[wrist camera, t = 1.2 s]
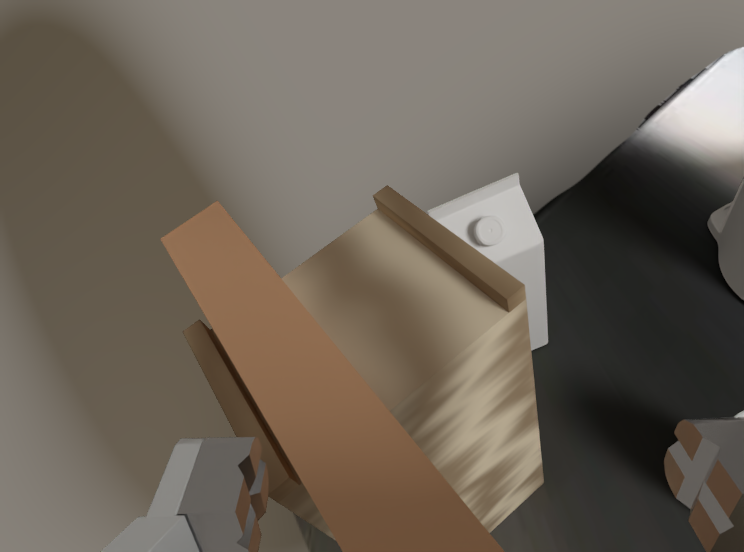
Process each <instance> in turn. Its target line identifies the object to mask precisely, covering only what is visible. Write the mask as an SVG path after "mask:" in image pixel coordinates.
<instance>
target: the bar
mask: <svg viewBox="0 0 744 552" xmlns="http://www.w3.org/2000/svg"><path fill="white" fill-rule="evenodd" d="M161 241H162V243H163V244H164V246H165V247H166V249H167V251H168V253H169V255H170V256H171V258H172V260H173V261H174V263H175V265H176V267H177V268H178V270H179V272H180V273H181V275H182V277H183V279H184V280H185V282H186V284H187V285H188V287H189V289H190V291H191V292H192V294H193V296H194V297H195V299H196V301H197V302H198V304H199V306H200V308H201V309H202V311H203V313H204V315H205V316H206V318H207V319H208V321H209V323H210V325H211V326H212V328H213V330H214V332H215V333H216V335H217V337H218V339H219V340H220V342H221V344H222V345H223V347H224V349H225V351H226V352H227V354H228V356H229V357H230V359H231V361H232V363H233V364H234V366H235V368H236V369H237V371H238V373H239V375H240V376H241V378H242V380H243V381H244V383H245V385H246V387H247V388H248V390H249V392H250V393H251V395H252V397H253V399H254V400H255V402H256V404H257V405H258V407H259V409H260V411H261V412H262V414H263V416H264V417H265V419H266V421H267V423H268V424H269V426H270V428H271V429H272V431H273V433H274V435H275V436H276V438H277V440H278V441H279V443H280V445H281V447H282V448H283V450H284V452H285V453H286V455H287V457H288V459H289V460H290V462H291V464H292V465H293V467H294V469H295V471H296V472H297V474H298V476H299V477H300V479H301V481H302V483H303V484H304V486H305V488H306V489H307V491H308V493H309V495H310V496H311V498H312V500H313V501H314V503H315V505H316V507H317V508H318V510H319V512H320V513H321V515H322V517H323V519H324V520H325V522H326V524H327V525H328V527H329V529H330V531H331V532H332V534H333V536H334V537H335V539H336V541H337V543H338V544H339V546H340V548H341V549H342V551H343V552H504V551H503V549H502V548H501V547H500V546H499V544H498V543H497V542H496V541H495V540H494V538H493V537H492V536H491V535H490V533H489V532H488V531H487V530H486V528H485V527H484V526H483V525H482V524H481V522H480V521H479V520H478V519H477V517H476V516H475V515H474V514H473V513H472V511H471V510H470V509H469V508H468V506H467V505H466V504H465V503H464V502H463V500H462V499H461V498H460V497H459V495H458V494H457V493H456V492H455V491H454V489H453V488H452V487H451V486H450V484H449V483H448V482H447V481H446V480H445V478H444V477H443V476H442V475H441V473H440V472H439V471H438V470H437V469H436V467H435V466H434V465H433V464H432V462H431V461H430V460H429V459H428V458H427V456H426V455H425V454H424V453H423V451H422V450H421V449H420V448H419V447H418V445H417V444H416V443H415V442H414V440H413V439H412V438H411V437H410V436H409V434H408V433H407V432H406V431H405V429H404V428H403V427H402V426H401V425H400V423H399V422H398V421H397V420H396V418H395V417H394V416H393V415H392V413H391V412H390V411H389V410H388V409H387V407H386V406H385V405H384V404H383V402H382V401H381V400H380V399H379V398H378V396H377V395H376V394H375V393H374V391H373V390H372V389H371V388H370V387H369V385H368V384H367V383H366V382H365V380H364V379H363V378H362V377H361V376H360V374H359V373H358V372H357V371H356V369H355V368H354V367H353V366H352V365H351V363H350V362H349V361H348V360H347V358H346V357H345V356H344V355H343V354H342V352H341V351H340V350H339V349H338V347H337V346H336V345H335V344H334V343H333V341H332V340H331V339H330V338H329V336H328V335H327V334H326V333H325V332H324V330H323V329H322V328H321V327H320V325H319V324H318V323H317V322H316V321H315V319H314V318H313V317H312V316H311V314H310V313H309V312H308V311H307V310H306V308H305V307H304V306H303V305H302V303H301V302H300V301H299V300H298V298H297V297H296V296H295V295H294V294H293V292H292V291H291V290H290V289H289V287H288V286H287V285H286V284H285V283H284V281H283V280H282V279H281V278H280V276H279V275H278V274H277V273H276V272H275V270H274V269H273V268H272V267H271V265H270V264H269V263H268V262H267V261H266V259H265V258H264V257H263V256H262V255H261V253H260V252H259V251H258V250H257V248H256V247H255V246H254V245H253V243H252V242H251V241H250V240H249V239H248V237H247V236H246V235H245V234H244V232H243V231H242V230H241V229H240V228H239V226H238V225H237V224H236V223H235V221H234V220H233V219H232V218H231V217H230V215H229V214H228V213H227V212H226V210H225V209H224V208H223V207H222V206H221V204H220V203H219V202H218V201H216V202H215V203H213V204H212V205H210V206H209V207H207V208H206V209H204V210H203V211H201V212H200V213H198V214H197V215H195V216H194V217H192V218H191V219H189V220H188V221H186V222H185V223H183V224H182V225H180V226H179V227H177V228H176V229H174V230H173V231H171V232H170V233H168V234H167V235H165V236H164V237H162V238H161Z"/></svg>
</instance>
